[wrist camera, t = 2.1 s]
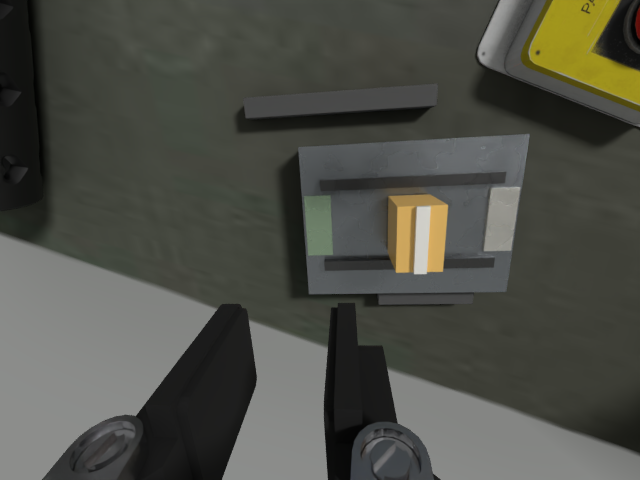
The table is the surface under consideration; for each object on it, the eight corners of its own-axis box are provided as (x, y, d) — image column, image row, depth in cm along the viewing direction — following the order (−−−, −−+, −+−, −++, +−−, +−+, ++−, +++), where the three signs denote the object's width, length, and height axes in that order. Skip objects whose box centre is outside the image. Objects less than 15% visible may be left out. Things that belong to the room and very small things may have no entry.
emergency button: (721, 133, 18) (497, 44, 18) (651, 135, 22) (468, 63, 22) (858, -47, 15) (594, -160, 15) (748, -7, 20) (539, -93, 19)
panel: (510, 134, 23) (535, 133, 20) (491, 278, 26) (510, 295, 23) (302, 146, 24) (296, 147, 21) (311, 281, 28) (308, 297, 25)
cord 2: (467, 281, 27) (474, 289, 25) (466, 295, 27) (472, 303, 26) (377, 283, 27) (378, 290, 26) (377, 296, 28) (378, 304, 26)
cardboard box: (430, 194, 22) (449, 205, 18) (426, 250, 23) (444, 273, 19) (388, 195, 22) (398, 207, 18) (387, 251, 23) (396, 274, 19)
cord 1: (432, 87, 22) (437, 83, 21) (431, 107, 23) (436, 105, 21) (248, 100, 23) (243, 97, 22) (251, 119, 24) (245, 118, 22)
